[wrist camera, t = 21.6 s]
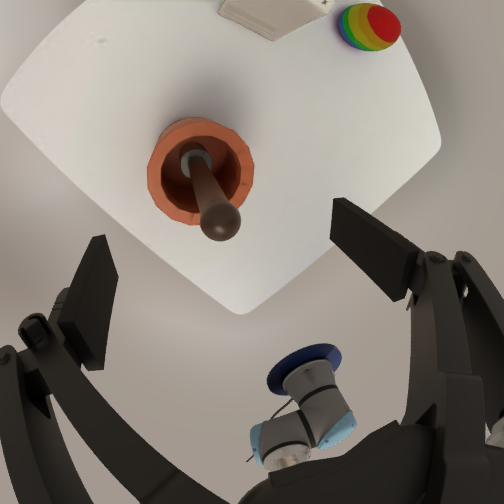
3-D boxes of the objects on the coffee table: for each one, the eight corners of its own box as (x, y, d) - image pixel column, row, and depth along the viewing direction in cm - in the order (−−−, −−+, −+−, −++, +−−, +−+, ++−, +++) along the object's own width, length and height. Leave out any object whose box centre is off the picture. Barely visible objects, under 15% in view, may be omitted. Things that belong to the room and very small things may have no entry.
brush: (204, 140, 34) (254, 193, 14) (207, 166, 35) (256, 252, 16) (177, 144, 33) (186, 203, 14) (180, 170, 35) (196, 263, 16)
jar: (210, 199, 39) (226, 237, 29) (143, 176, 34) (132, 206, 24) (242, 135, 35) (271, 149, 25) (173, 106, 31) (173, 105, 21)
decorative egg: (346, 59, 32) (389, 55, 24) (321, 15, 28) (361, 0, 20) (379, 45, 32) (422, 42, 23) (357, 5, 27) (399, -7, 19)
